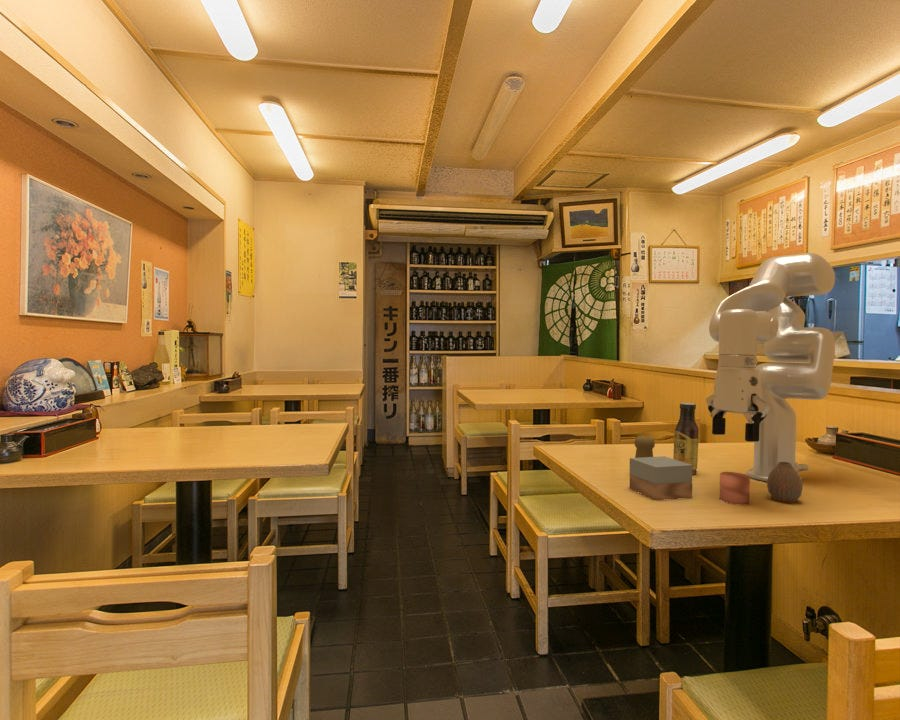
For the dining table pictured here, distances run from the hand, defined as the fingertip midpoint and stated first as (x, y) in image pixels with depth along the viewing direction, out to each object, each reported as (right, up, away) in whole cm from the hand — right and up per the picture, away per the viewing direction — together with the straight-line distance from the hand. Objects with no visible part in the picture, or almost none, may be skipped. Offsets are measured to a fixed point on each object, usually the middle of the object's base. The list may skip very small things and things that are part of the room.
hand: (734, 437), depth 115 cm
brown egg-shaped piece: (+12, -15, +2) cm, 19 cm away
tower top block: (-14, -11, +7) cm, 19 cm away
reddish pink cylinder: (0, -15, +1) cm, 15 cm away
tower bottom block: (-15, -15, +6) cm, 22 cm away
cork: (-12, -14, +22) cm, 29 cm away
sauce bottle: (+1, -14, +27) cm, 30 cm away
